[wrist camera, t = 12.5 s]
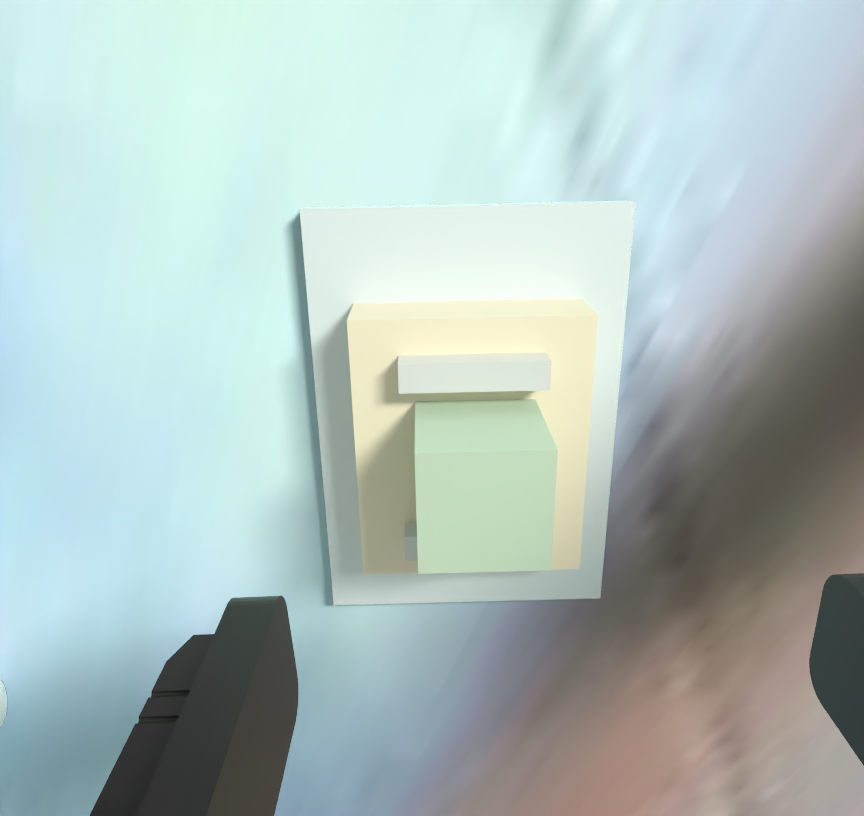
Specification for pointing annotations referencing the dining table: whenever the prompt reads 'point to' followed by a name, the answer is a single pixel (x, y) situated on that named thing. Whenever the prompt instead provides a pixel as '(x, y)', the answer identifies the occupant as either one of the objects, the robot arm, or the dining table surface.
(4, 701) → the mug
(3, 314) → the dining table surface
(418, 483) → the sage cube
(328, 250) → the base
